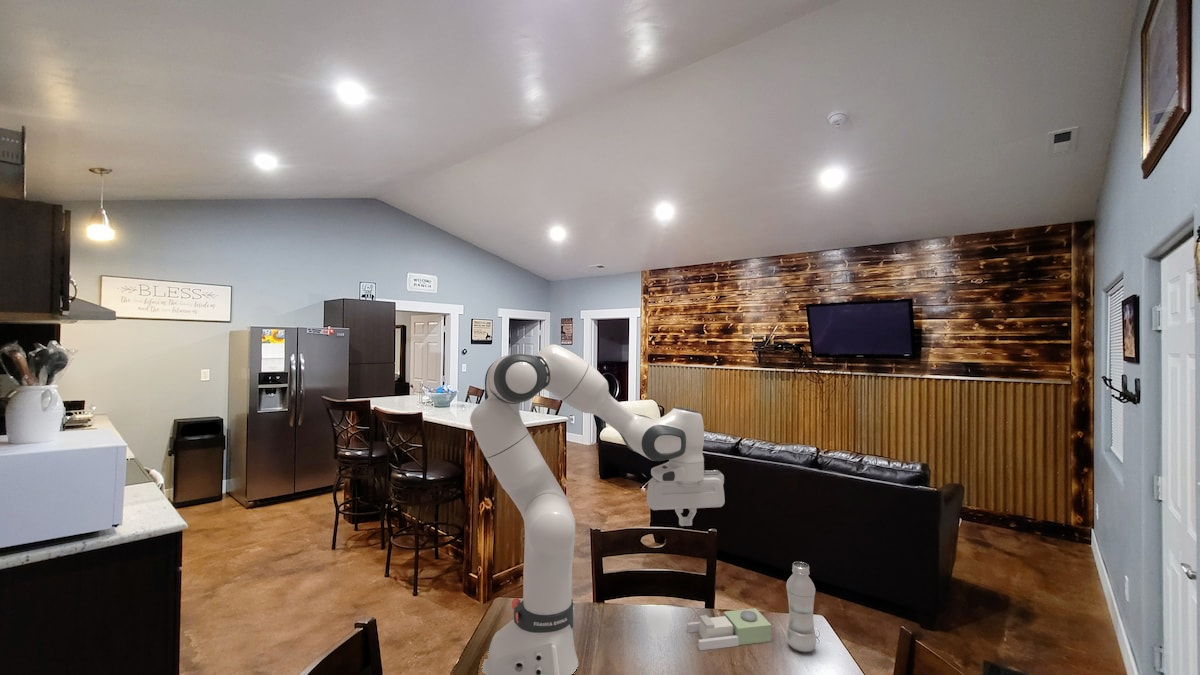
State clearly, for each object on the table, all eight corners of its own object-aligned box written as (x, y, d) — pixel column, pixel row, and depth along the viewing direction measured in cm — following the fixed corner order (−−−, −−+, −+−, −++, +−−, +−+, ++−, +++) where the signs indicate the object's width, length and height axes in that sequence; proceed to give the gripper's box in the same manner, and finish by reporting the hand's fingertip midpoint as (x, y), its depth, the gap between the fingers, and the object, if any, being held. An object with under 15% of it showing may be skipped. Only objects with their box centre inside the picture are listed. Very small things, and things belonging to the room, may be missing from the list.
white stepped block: (706, 645, 121) (706, 625, 121) (699, 634, 126) (699, 615, 126) (733, 642, 123) (733, 622, 123) (725, 631, 127) (725, 612, 127)
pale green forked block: (699, 650, 119) (699, 630, 119) (686, 630, 127) (686, 611, 127) (772, 641, 123) (772, 622, 123) (754, 623, 131) (754, 604, 131)
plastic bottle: (819, 658, 116) (818, 572, 117) (788, 654, 117) (788, 569, 118) (813, 642, 122) (812, 560, 123) (784, 638, 124) (784, 558, 124)
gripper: (718, 466, 133) (718, 518, 132) (645, 469, 129) (644, 522, 128) (729, 472, 126) (728, 527, 126) (652, 475, 122) (651, 531, 122)
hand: (685, 525), depth 127 cm, fingers closed
